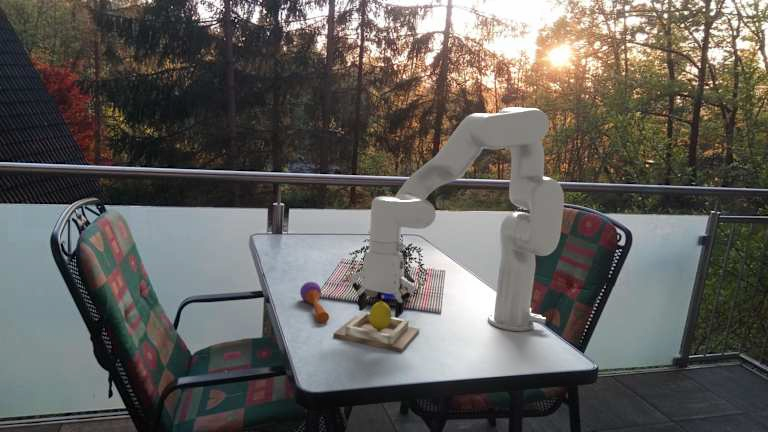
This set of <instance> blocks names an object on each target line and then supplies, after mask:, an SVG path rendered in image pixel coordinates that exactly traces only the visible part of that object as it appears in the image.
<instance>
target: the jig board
mask: <svg viewBox="0 0 768 432" xmlns="http://www.w3.org/2000/svg"><path fill="white" fill-rule="evenodd" d="M369 315H370V311H363V312H362V313H361V314H360V315H359V316H358V315H354V317H352V318H351V319H350V320H348V321H347V322H345V324H344V325H341V327H340V328H338V329H337V330H336V331H334V333H333V338H336V339H341V340H346V341H350V342H354V343H359V344H361V345H367V346H372V347H376V348H381V349H386V350H389V351H390V350H391V351H395V352H398V353H403V352H404V350H406V348H407V347H408V346H409V345H410V343H412V341H414V339H415V337H416V336H418V334H419V333H420V328H418V327H417V328H416V327H412V326H409V321H410V320H408V319H403V318H399V317H398V318H396V317H395V316H393V317H392V316H391V321H390V324H389V325H388V327H386V328H385V329H382V330H381V331H378V330H377V329H375V328H374V327H373V326H372V325H371V323H370V320H369Z"/></svg>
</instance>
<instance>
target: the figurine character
mask: <svg viewBox="0 0 768 432" xmlns="http://www.w3.org/2000/svg"><path fill="white" fill-rule="evenodd" d="M404 278H405V279H407V280H408V281H410V282H411V283H412V284H413V283H415V282H416V281H415V279H414V278H413V277H412V276H411V275H410V274H409V273H404ZM401 290H402V292H403V293H404V294H405V293H406V292H407V290H408V288H407V287H406V286H403V289H401ZM365 292H366V294H367V297H368V299H369V300H370V302H372V303H375V302H376V303H377V302H380V301H383V300H387V299H388V300H389V299H395V298H396V297H395V296H394V294H388V293H383V292H377V291H372V290H366V291H365ZM412 296H413V293H412V294H411V295H410V296H409V297H408V298H407V299H406V300H405V301H407V300H409V299H411V297H412ZM371 299H373V300H371Z"/></svg>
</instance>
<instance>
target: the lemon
mask: <svg viewBox="0 0 768 432" xmlns="http://www.w3.org/2000/svg"><path fill="white" fill-rule="evenodd" d="M369 310H370V311H369V312H370V315H369V320H370V323H371V325H372V326H373V327H374V328H375V329H377V330H378V331H381V330H382V329H385V328H386V327H388V325H389V324H390V321H391V317H392V311H391V308H390V306H389V305H388V304H387V303H386V302H384V301H383V300H381V301H377V302H376V303H375V304H373V305H372V306H371V308H370V309H369Z"/></svg>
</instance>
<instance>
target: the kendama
mask: <svg viewBox="0 0 768 432" xmlns="http://www.w3.org/2000/svg"><path fill="white" fill-rule="evenodd" d="M299 294H300V297H301V299H302V300H304V302H306V303H308V304H313V307H314V314H315V319H316V321H317V323H319V324H325V323H328V321H329V319H330V315H329V313H328V312H327V311H326V310H325V309H324V307H323V306H322V305H321V304H320V303H319V300H320V299H321V295H322V289H321V287H320V285H319V284H318V283H317V282H314V281H307V282H305V283H304V284H303V285H302V286H301V288H300V289H299Z"/></svg>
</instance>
